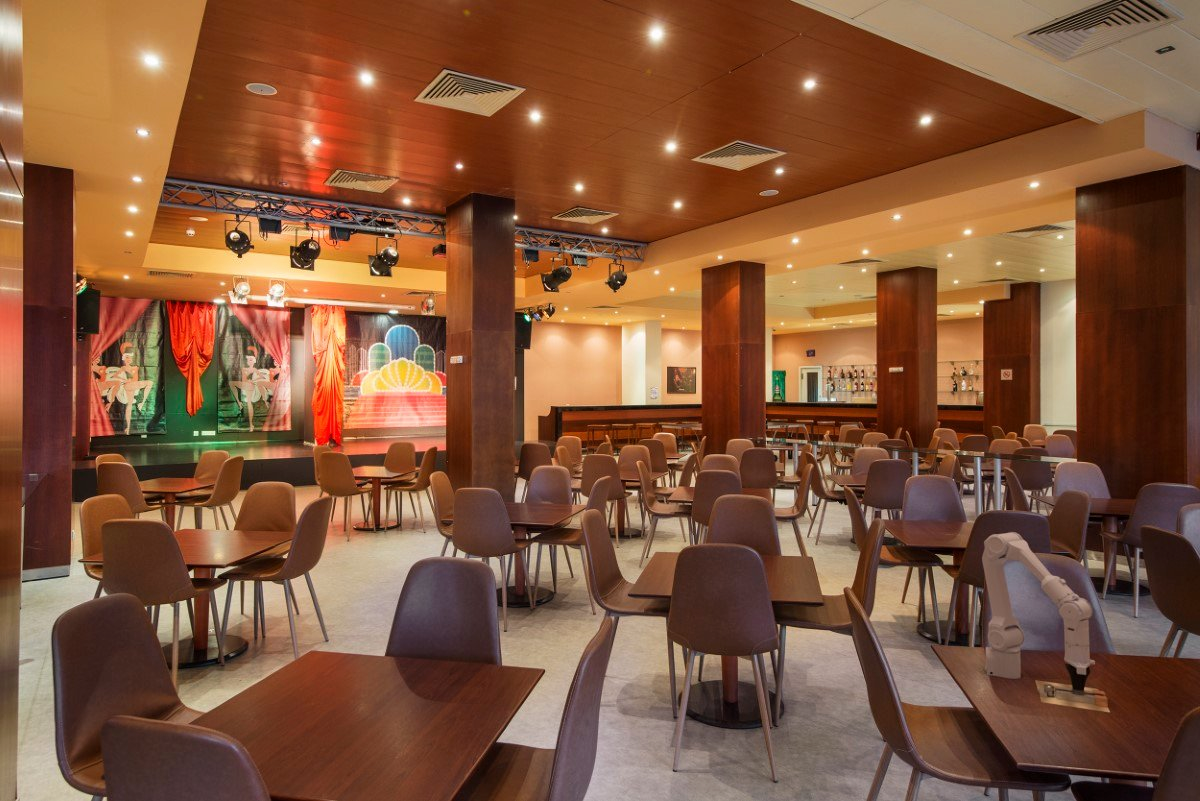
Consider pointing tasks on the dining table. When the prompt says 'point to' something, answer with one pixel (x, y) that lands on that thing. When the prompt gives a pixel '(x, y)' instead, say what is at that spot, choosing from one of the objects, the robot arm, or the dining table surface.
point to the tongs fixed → (1073, 696)
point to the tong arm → (1080, 691)
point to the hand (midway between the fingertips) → (1078, 692)
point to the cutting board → (1068, 703)
